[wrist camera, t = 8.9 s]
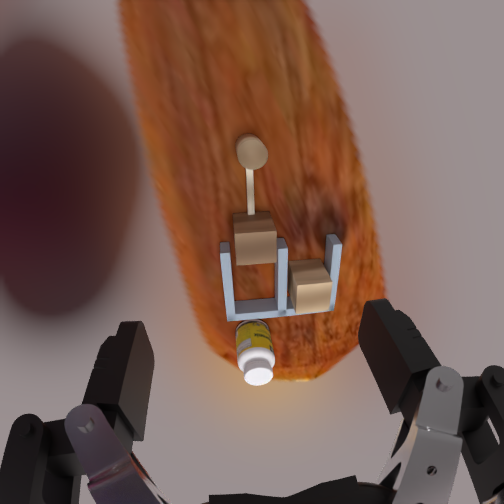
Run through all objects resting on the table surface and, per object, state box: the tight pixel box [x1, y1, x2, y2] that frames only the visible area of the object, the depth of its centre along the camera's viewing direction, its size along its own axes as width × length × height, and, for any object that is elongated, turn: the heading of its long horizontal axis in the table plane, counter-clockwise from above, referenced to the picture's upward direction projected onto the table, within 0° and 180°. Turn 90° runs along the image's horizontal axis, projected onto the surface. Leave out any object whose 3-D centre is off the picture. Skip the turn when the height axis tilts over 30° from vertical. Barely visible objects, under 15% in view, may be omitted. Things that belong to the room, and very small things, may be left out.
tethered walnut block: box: [233, 133, 277, 265], centre depth 35 cm, size 14×5×6 cm, turn 2°
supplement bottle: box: [236, 319, 275, 385], centre depth 45 cm, size 5×5×10 cm
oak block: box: [288, 259, 333, 314], centre depth 42 cm, size 5×5×6 cm
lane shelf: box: [220, 234, 342, 321], centre depth 43 cm, size 11×16×3 cm
